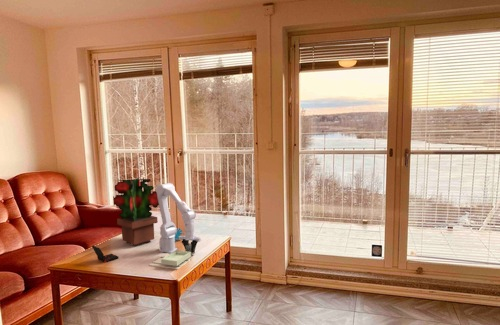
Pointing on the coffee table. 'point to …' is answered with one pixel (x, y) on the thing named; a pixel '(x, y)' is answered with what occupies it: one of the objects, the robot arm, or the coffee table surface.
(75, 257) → the coffee table surface
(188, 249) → the part block
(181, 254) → the mint green storage bin
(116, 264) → the coffee table surface
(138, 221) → the potted plant
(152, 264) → the rail board
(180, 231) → the gear
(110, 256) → the handheld gaming console
